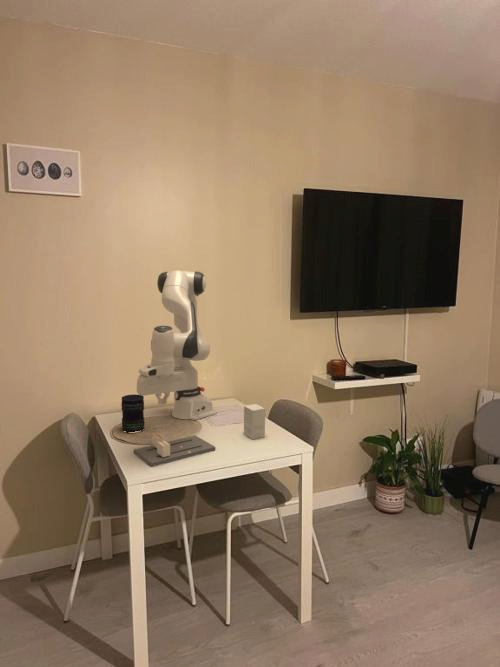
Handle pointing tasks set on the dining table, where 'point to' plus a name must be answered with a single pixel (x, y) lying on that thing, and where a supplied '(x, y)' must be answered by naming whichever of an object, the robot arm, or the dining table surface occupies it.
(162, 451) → the fader
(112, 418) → the dining table surface
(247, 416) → the small box
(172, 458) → the console
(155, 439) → the fader
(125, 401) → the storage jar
